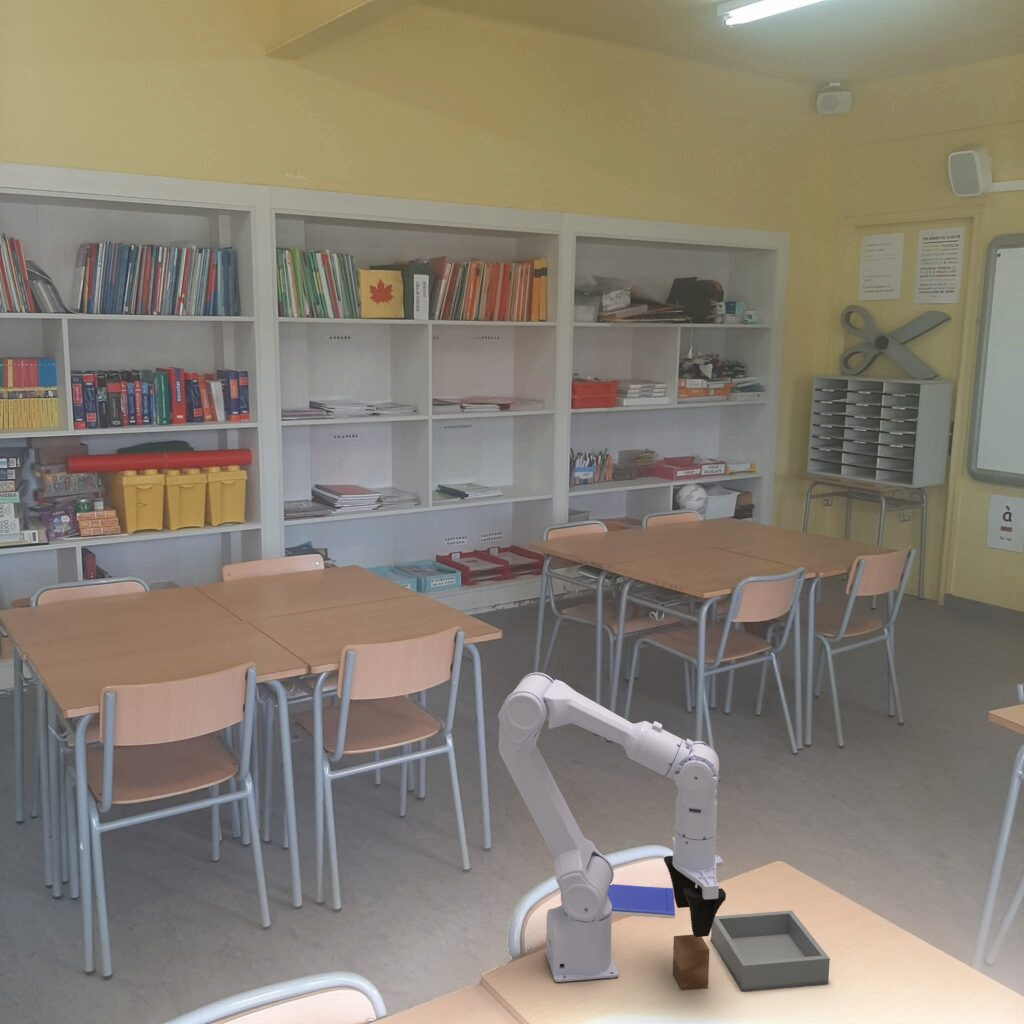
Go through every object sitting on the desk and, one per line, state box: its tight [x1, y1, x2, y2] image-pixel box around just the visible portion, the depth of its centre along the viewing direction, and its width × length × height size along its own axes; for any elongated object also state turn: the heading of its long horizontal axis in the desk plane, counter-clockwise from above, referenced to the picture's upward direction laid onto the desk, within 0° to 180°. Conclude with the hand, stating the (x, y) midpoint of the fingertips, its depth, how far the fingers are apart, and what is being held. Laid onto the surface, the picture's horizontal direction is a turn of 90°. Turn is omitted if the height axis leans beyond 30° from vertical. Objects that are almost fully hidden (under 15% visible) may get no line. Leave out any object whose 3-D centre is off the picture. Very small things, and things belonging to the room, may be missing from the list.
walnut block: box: [672, 934, 711, 991], centre depth 146 cm, size 4×4×6 cm
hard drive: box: [607, 883, 676, 919], centre depth 168 cm, size 2×8×12 cm
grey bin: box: [710, 910, 831, 993], centre depth 151 cm, size 13×13×4 cm
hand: (692, 920), depth 145 cm, fingers open, 7 cm apart
